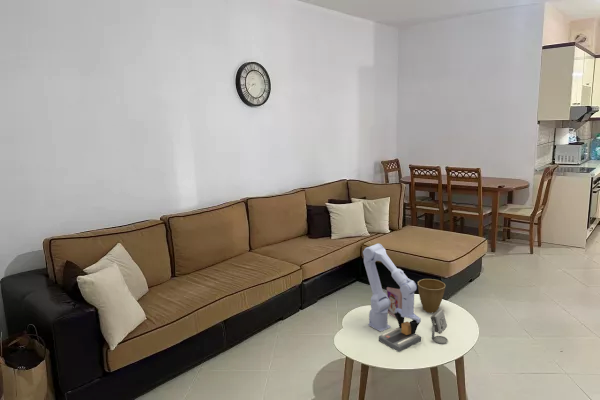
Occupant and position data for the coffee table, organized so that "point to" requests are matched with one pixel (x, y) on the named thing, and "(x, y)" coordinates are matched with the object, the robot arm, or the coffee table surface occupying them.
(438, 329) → the electrical switch
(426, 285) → the plant pot
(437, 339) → the pocket watch
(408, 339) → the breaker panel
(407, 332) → the block
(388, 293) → the greeting card
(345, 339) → the coffee table surface
